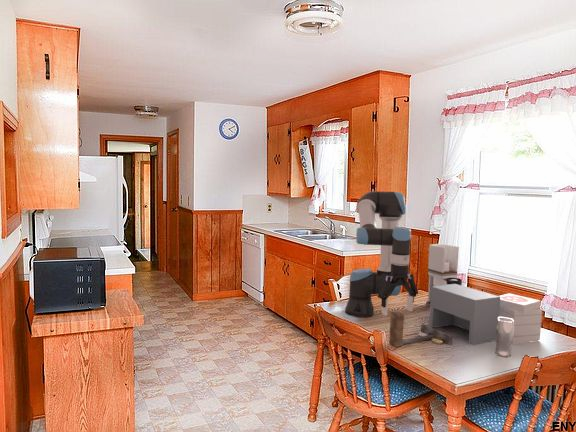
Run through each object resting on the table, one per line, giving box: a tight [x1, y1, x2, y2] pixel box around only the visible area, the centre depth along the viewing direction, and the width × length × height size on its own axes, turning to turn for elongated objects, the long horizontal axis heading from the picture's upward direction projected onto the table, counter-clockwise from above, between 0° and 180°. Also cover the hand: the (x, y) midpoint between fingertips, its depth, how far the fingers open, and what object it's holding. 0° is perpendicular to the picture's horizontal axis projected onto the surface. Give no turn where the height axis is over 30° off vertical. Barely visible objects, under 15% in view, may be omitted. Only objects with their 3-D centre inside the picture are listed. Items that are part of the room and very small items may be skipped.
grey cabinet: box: [428, 284, 500, 346], centre depth 215 cm, size 26×16×20 cm, turn 27°
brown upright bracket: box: [388, 310, 453, 348], centre depth 202 cm, size 18×25×14 cm
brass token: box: [431, 337, 445, 345], centre depth 203 cm, size 5×5×2 cm
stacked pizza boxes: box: [498, 293, 543, 345], centre depth 217 cm, size 19×30×18 cm, turn 15°
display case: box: [425, 243, 460, 307], centre depth 258 cm, size 11×11×35 cm
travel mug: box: [446, 277, 463, 286], centre depth 241 cm, size 8×8×20 cm
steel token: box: [417, 330, 429, 337], centre depth 211 cm, size 5×5×2 cm
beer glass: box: [494, 317, 514, 358], centre depth 190 cm, size 7×7×15 cm
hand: (397, 312), depth 197 cm, fingers open, 13 cm apart
